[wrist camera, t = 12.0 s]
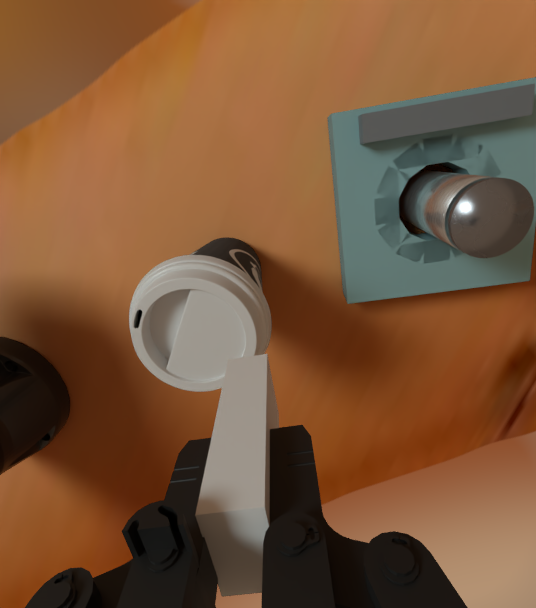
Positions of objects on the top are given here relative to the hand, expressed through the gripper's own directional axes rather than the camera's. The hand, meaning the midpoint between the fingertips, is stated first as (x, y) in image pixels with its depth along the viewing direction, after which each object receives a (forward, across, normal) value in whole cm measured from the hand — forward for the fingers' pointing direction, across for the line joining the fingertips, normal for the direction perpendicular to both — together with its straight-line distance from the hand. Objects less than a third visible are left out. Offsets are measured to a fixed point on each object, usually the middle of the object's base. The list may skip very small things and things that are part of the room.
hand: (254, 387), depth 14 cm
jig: (+23, +15, +2) cm, 27 cm away
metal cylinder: (+23, +15, +2) cm, 27 cm away
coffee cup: (+24, -4, -2) cm, 24 cm away
